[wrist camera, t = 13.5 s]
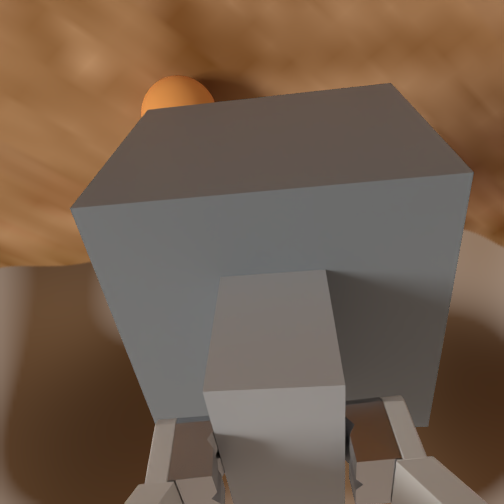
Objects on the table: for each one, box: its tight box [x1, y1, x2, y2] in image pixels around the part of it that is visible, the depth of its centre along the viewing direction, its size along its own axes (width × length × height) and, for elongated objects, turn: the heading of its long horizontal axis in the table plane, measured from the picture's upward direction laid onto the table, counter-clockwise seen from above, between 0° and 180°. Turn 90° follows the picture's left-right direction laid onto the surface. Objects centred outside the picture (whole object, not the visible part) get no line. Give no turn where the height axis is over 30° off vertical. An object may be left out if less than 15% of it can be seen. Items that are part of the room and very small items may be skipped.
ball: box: [141, 75, 215, 117], centre depth 29 cm, size 5×5×5 cm
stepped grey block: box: [70, 83, 474, 504], centre depth 16 cm, size 10×10×13 cm
